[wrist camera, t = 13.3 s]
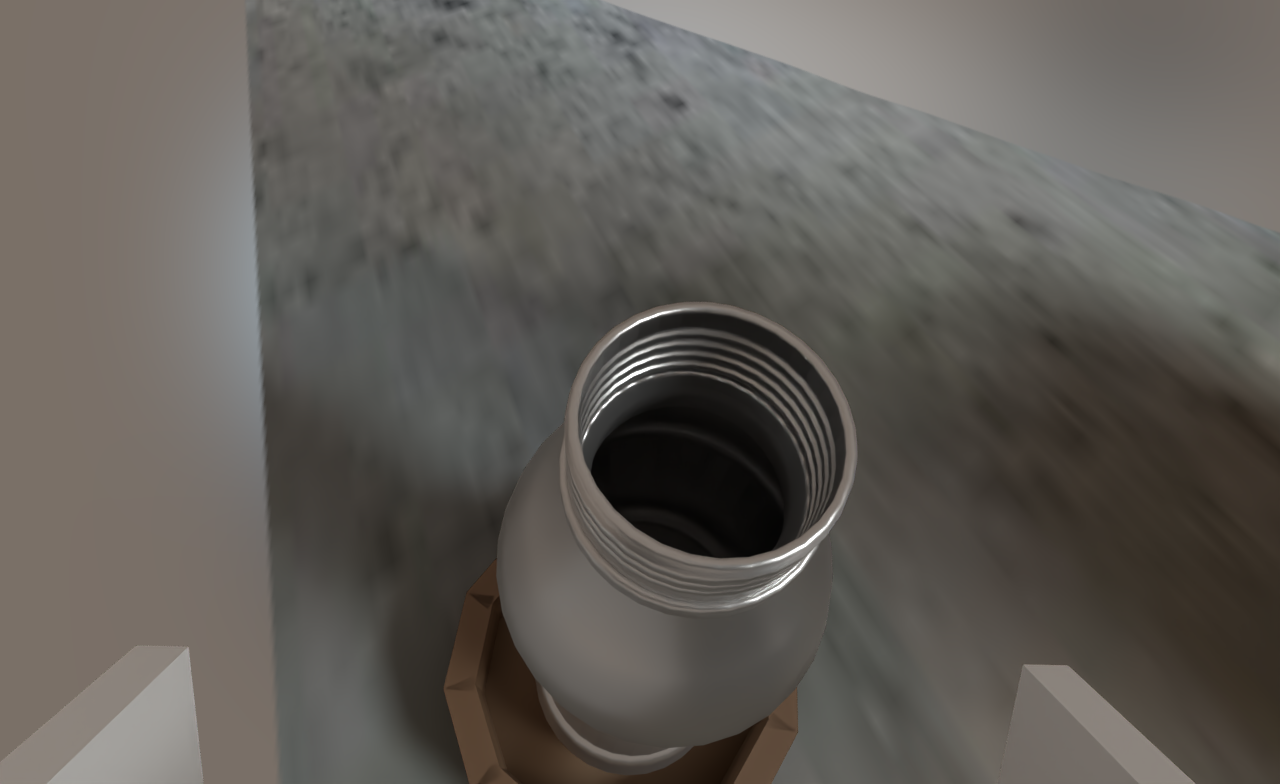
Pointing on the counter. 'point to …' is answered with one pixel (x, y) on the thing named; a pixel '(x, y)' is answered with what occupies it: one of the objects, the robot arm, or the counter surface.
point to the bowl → (524, 741)
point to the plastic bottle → (678, 534)
